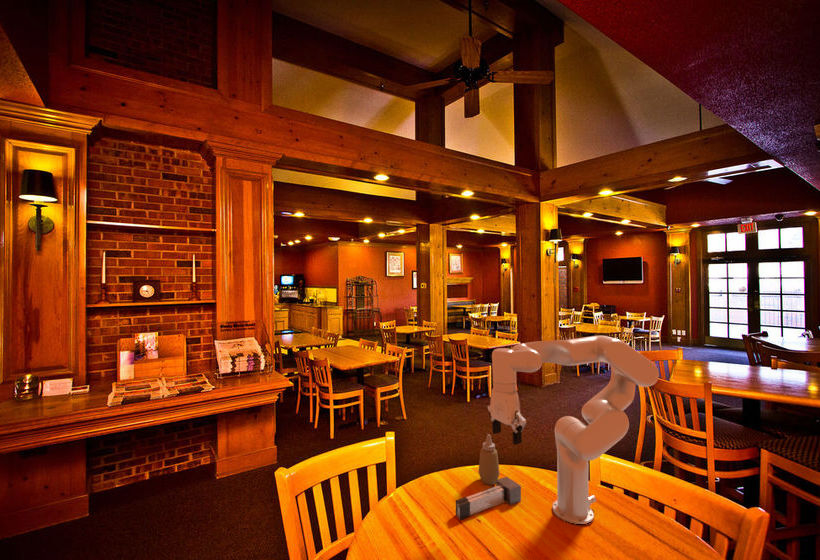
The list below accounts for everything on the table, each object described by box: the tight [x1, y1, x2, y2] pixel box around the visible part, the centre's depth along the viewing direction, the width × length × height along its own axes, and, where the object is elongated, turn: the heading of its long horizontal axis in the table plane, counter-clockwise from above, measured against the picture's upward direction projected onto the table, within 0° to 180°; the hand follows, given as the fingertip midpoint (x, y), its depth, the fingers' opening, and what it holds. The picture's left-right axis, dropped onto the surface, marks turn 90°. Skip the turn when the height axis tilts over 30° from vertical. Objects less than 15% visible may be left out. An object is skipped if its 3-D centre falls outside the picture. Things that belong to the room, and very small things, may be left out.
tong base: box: [455, 476, 522, 518], centre depth 128 cm, size 24×7×6 cm, turn 119°
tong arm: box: [457, 488, 505, 521], centre depth 125 cm, size 19×1×5 cm, turn 119°
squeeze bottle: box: [478, 434, 500, 486], centre depth 144 cm, size 8×8×18 cm
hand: (506, 438), depth 123 cm, fingers open, 9 cm apart
